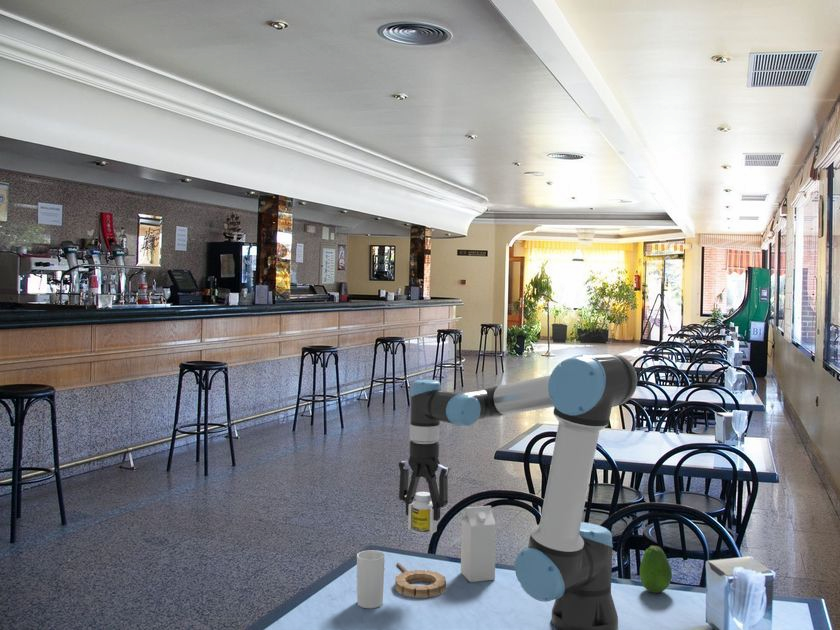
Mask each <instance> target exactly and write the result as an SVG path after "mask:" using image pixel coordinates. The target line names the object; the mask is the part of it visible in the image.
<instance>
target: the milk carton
mask: <svg viewBox="0 0 840 630" xmlns="http://www.w3.org/2000/svg"><path fill="white" fill-rule="evenodd" d="M465 511H466V512H465V513H464V514H463V516H462V517H461V533H460V534H461V541H460V544H461V545H460V548H461V549H460V573H461V574H462V576H464V577H465V578H466V579H467V581H469V583H474V582H476V583H477V582H484V581H493V580H494V581H495V579H496V543H497V541H496V538H497V537H496V536H497V533H496V531H497V524H496V521H495V518H494V514H493V511H492V505H485V506H484V505H483V506H482V505H481V506H470V507H468V506H467V507H466V508H465Z"/></svg>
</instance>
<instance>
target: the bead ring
mask: <svg viewBox="0 0 840 630" xmlns="http://www.w3.org/2000/svg"><path fill="white" fill-rule="evenodd" d="M413 582H427V583H431V584H428V585H416V584H412V583H413ZM410 583H411V584H410ZM394 584H395V586H394V588H395V591H396V592H398V593H399V594H401V595H403V596H407V597H411V598H417V599H418V598H422V599H423V598H426V599H427V598H431V597H437V596H439V595H442V594H443V593H444V592H445V591H446V590H447V580H446V577H445V575H442V574H441V573H440V572H436V571H432V570H429V569H428V570H425V569H414V570H413V569H411V570H407V572H403V571H402V572H400V574H398V575H396V576H395V583H394Z"/></svg>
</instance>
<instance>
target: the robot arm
mask: <svg viewBox="0 0 840 630" xmlns="http://www.w3.org/2000/svg"><path fill="white" fill-rule="evenodd" d="M637 386H638V375H637V372H636V368H635V367H634V365H633V364H632V363H631V362H630V360H628V359H627V358H626V357H624V356H622V355H619V354H616V353H613V352H607V353H598V354H591V355H589V354H588V355H585V354H580V355H576V356H575V355H574V356H572V357H569V358H566V359H564V360H562V361H561V362H560V363H558V364H557V365H556V366H555V367H554V368H553V370H552V371H551V374H549V375H545V376H542V377H541V376H540V377H534V378H530V379H526V380H521V381H515V382H511V383H506V384H501V385H497V386H492V387H487V388H480V389H473V390H467V391H459V392H453V391H444V390H442V388H441V387H442V386H441V382H440V381H438V380H435V379H416V380H414V381H412V382H411V389H410V397H409V398H410V417H409V418H410V421H409V422H410V424H409V425H410V426H409V439H410V442H409V458H408V460H402V461H400V462H399V463H398V467H399V472H400V473H399V474H400V476H399V489H398V490H399V491H398V499H399V500H400V501H403V502H404V503H405V515H406V516H408V517H407V518H408V519H407V521H408V522H407V524H408V525H407V526H408V527H407V530H409V531H412V507H413V503H414V502H415V501H416V498H415V495H416V493H417V490H418V486H419V482H420V478H421V477H422V478H424V479H425V481H426V483H427V486H428V490H429V493H430V496H431V500H430V501H431V502H432V505H433V507H431V508H430V531H429V534H430V535H433V534H434V533H436V532H437V531H438V530H437V529H438V521H439V520H440V519H441V508H443V507H445V506H447V505H448V503H449V500H448V499H449V493H448V492H449V491H448V490H449V489H448V487H449V485H448V483H449V482H448V480H449V479H448V476H449V473H450V466H444V465H442V464H441V463H440V459H439V456H440V442H439V440H440V422H443V423H448V424H452V425H456V426H459V427H460V426H461V427H462V426H463V427H471V426H473V425H474V424H475V423H476V422H477V421H478V420H483V419H489V418H490V419H491V418H498V417H502V416H503V417H504V416H507V415H513V414H520V413H525V412H530V411H536V410H542V409H550V408H553V415H554V417H555V418H556V420H557V421H558V426H557V431H556V436H555V441H554V447H553V452H552V457H551V462H550V468H549V472H548V477H547V478H548V479H547V483H546V489H545V494H544V498H543V503H542V509H541V514H540V521H539V524H537V525H535V526H533V527H532V528H531V530H530V535H529V538H528V539H529V541H528V545H527V547H525V548H524V549H522V550H520V552H519V553H518V554H517V556H516V558H515V561H514V571H515V572H514V573H515V576H516V579H517V580H518V581H517V582H519V583H520V587H521V588H522V590H523V591H524V592H525V593H526V594H527V595H528V596H529V597H531V598H533V599H535V600H537V601H539V602H543V603H546V602H551V601H553V600H555V601H554V603H553V606H552V608H551V609H552V610H551V623H552V625H553V626H554V627H555V628H556V629H558V630H619V629H618V628H619V616H618V613H617V609H616V606H615V602H614V599H613V596H612V569H613V568H612V567H613V548H614V545H613V535H612V532H611V531H610V530H609V529H608V528H606V527H605V526H601V525H599V524H594V523H589V522H584V521H582V520H583V514H584V509H585V505H586V502H587V501H586V499H587V494H588V490H589V485H590V480H591V475H592V471H593V464H594V460H595V456H596V455H595V454H596V450H597V445H598V441H599V440H598V439H599V436H600V431H601V430H603V429H605V428H606V427H608V426H609V423H610V419H611V415H612V414H611V413H612V410H613V408H615V407H618V406H620V405H623V404H624V403H627V402H628V401H629V400H630V399H631V398H632V397H633V395H634V394H635V392H636V390H637ZM409 469H411V471H412V472H411V477H410V481H409V471H410V470H409ZM436 472H438V474H439V477H438V483H437V474H436ZM438 484H439V485H438ZM438 486H439V487H438ZM429 534H428V535H429Z"/></svg>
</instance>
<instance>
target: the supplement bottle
mask: <svg viewBox="0 0 840 630" xmlns="http://www.w3.org/2000/svg"><path fill="white" fill-rule="evenodd" d="M414 499H415V500H414V501H413V502H414V503H413V507H412V529H411V531H412V532H413V533H415V534H418V535H429V531H430V508H431V507H433V505H432V500H431V496H430V491H429V492H427V491H418V492H417V491H416V493H415V496H414Z"/></svg>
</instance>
